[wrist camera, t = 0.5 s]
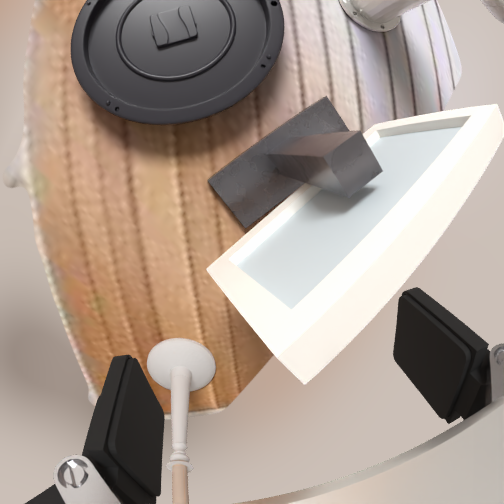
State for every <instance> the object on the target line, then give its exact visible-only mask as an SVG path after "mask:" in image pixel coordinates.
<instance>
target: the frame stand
mask: <svg viewBox="0 0 504 504" xmlns="http://www.w3.org/2000/svg"><path fill="white" fill-rule="evenodd" d="M381 172H383V170H382V168H381V166H380V165H379V163H378V161H377V159H376V157H375V156H374V154H373V152H372V150H371V148H370V147H369V145H368V143H367V142H366V140H365V138H364V136H363V135H362V133H361V131H349V130H348V128H347V127H346V125H345V123H344V122H343V120H342V119H341V117H340V116H339V114H338V113H337V111H336V110H335V108H334V107H333V105H332V104H331V102H330V101H329V99H328V98H327V96H326V97H323V98H321V99H320V100H318V101H317V102H315V103H314V104H312V105H311V106H309V107H308V108H306V109H305V110H303V111H301V112H300V113H298V114H297V115H296V116H294V117H293V118H291V119H290V120H288V121H287V122H285V123H284V124H282V125H281V126H279V127H278V128H277V129H275V130H274V131H272V132H271V133H269V134H268V135H267V136H265V137H264V138H262V139H261V140H260V141H258V142H257V143H255V144H254V145H253V146H251V147H250V148H249V149H247V150H246V151H244V152H243V153H242V154H240V155H239V156H238V157H236V158H235V159H234V160H232V161H231V162H230V163H228V164H227V165H226V166H224V167H223V168H222V169H221V170H219V171H218V172H217V173H215V174H214V175H213V176H212V177H210V178H209V179H208V180H207V181H208V182H209V183H210V184H211V186H212V187H213V188H214V189H215V191H216V192H217V193H218V194H219V196H220V197H221V198H222V200H223V201H224V202H225V203H226V205H227V206H228V207H229V208H230V210H231V211H232V212H233V213H234V215H235V216H236V217H237V218H238V220H239V221H240V222H241V223H242V225H243V226H244V227H245V228H247V227H248V226H249V225H251V224H252V223H253V222H255V221H256V220H257V219H258V218H260V217H261V216H262V215H264V214H265V213H266V212H268V211H269V210H270V209H272V208H273V207H274V206H276V205H277V204H278V203H279V202H281V201H282V200H283V199H285V198H286V197H287V196H289V195H290V194H291V193H293V192H294V191H295V190H297V189H298V188H299V187H301V186H302V185H303V184H305V183H307V184H310V185H313V186H316V187H319V188H322V189H325V190H328V191H330V192H333V193H336V194H339V195H342V196H345V197H347V198H349V197H351V196H352V195H353V194H355V193H356V192H357V191H358V190H360V189H361V188H362V187H364V186H365V185H366V184H367V183H369V182H370V181H371V180H372V179H374V178H375V177H376V176H377V175H379V174H380V173H381Z"/></svg>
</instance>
